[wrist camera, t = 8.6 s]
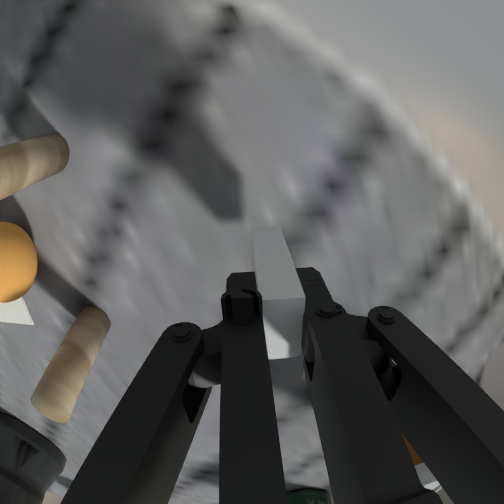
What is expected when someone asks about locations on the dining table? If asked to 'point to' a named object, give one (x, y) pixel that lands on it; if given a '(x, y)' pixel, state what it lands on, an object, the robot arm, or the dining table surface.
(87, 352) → the post
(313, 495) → the coffee jar
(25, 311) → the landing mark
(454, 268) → the dining table surface
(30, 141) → the post
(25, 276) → the ball
